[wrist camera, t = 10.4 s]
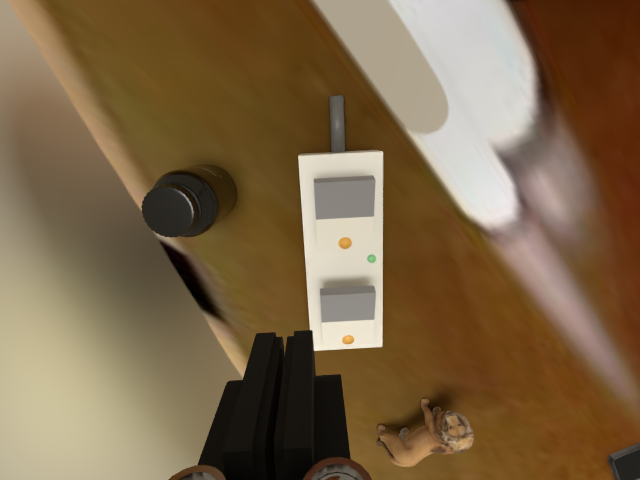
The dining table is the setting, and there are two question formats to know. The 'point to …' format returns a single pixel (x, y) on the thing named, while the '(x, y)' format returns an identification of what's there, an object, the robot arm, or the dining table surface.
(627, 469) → the phone
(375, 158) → the strip
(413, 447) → the lion figurine
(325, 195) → the rocker
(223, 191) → the supplement bottle
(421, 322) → the dining table surface
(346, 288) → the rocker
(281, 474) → the robot arm
